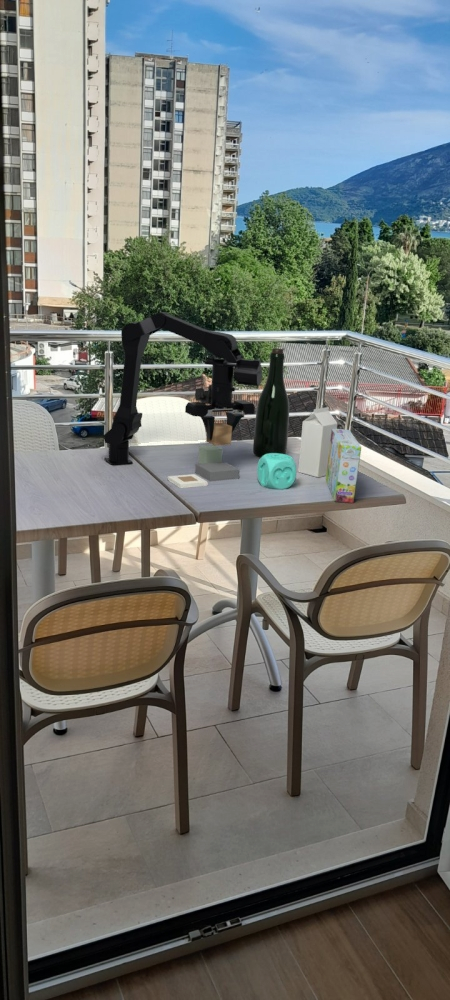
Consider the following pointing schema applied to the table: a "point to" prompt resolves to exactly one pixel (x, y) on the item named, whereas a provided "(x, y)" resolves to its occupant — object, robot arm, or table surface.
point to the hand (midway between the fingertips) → (218, 439)
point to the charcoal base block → (217, 471)
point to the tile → (187, 481)
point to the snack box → (343, 465)
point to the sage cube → (210, 454)
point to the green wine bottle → (272, 410)
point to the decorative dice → (276, 471)
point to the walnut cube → (221, 434)
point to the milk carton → (316, 442)
